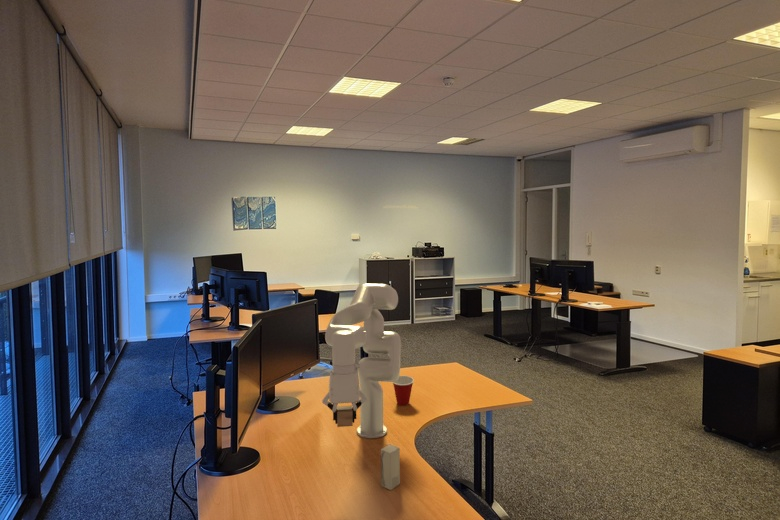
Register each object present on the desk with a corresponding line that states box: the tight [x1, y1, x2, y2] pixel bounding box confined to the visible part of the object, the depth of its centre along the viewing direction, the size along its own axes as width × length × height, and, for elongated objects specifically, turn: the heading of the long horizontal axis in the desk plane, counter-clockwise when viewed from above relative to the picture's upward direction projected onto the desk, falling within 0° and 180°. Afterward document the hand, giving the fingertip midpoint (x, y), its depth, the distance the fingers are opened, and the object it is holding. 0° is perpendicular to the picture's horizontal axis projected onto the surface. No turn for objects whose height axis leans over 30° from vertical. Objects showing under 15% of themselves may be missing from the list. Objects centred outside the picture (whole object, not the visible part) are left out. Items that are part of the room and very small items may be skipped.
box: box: [380, 443, 401, 491], centre depth 157 cm, size 5×4×13 cm
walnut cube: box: [336, 404, 354, 428], centre depth 157 cm, size 5×5×5 cm
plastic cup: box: [392, 375, 415, 406], centre depth 228 cm, size 11×11×12 cm
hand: (344, 421), depth 157 cm, fingers closed on walnut cube, 4 cm apart
